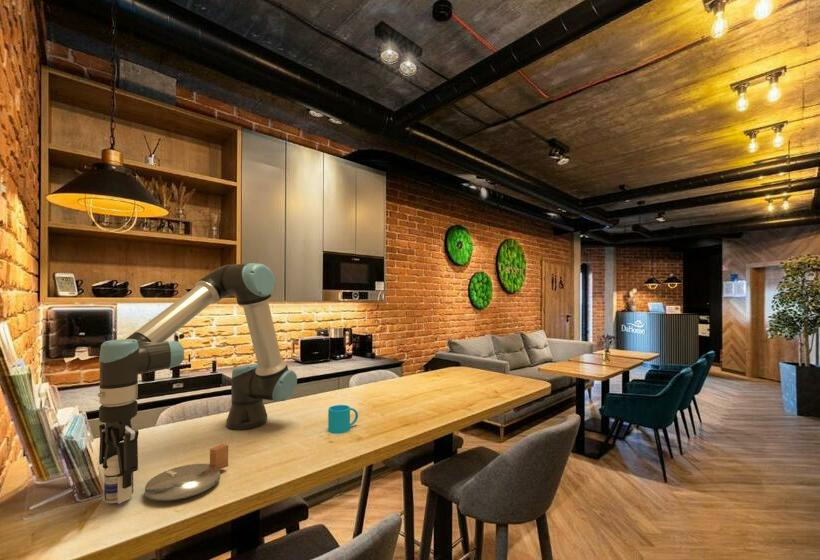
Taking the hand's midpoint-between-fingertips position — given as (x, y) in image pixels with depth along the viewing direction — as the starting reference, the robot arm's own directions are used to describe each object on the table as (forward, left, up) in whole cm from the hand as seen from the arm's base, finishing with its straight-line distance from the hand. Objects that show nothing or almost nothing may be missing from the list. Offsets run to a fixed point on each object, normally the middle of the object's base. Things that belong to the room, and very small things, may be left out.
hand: (117, 496), depth 92 cm
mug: (+18, +67, -2) cm, 69 cm away
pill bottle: (0, 0, -1) cm, 1 cm away
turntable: (+8, +13, 0) cm, 16 cm away
